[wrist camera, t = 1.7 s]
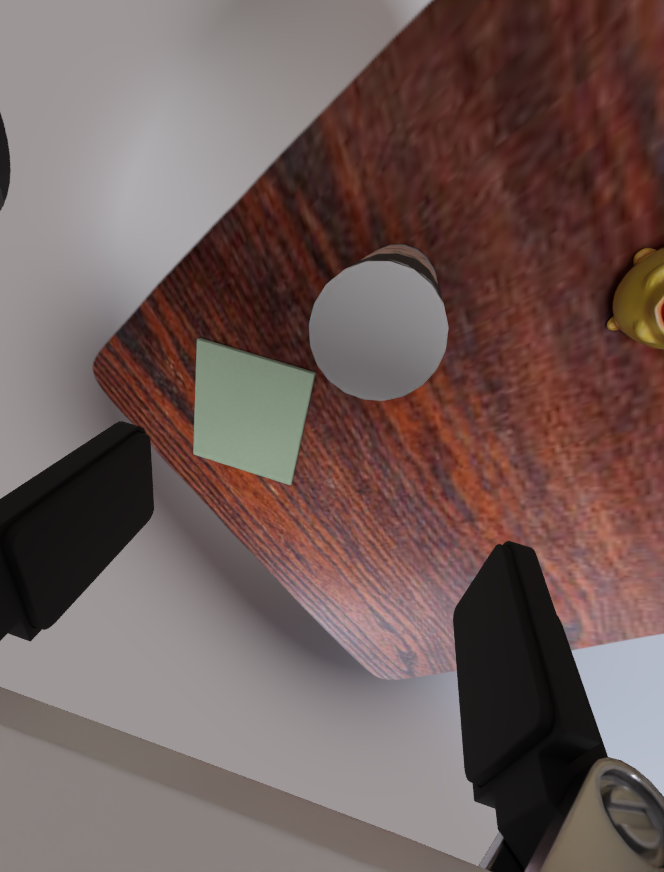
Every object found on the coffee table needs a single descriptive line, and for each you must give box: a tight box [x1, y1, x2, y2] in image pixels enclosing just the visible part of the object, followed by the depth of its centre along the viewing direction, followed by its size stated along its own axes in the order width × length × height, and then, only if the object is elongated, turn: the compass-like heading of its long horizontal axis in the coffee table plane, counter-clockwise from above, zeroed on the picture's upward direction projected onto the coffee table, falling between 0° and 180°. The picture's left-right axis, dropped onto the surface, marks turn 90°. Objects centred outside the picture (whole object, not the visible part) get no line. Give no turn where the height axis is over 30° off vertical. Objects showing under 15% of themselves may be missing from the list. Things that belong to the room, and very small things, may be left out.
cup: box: [309, 245, 448, 401], centre depth 24 cm, size 7×7×15 cm
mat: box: [193, 338, 316, 485], centre depth 40 cm, size 12×14×1 cm
